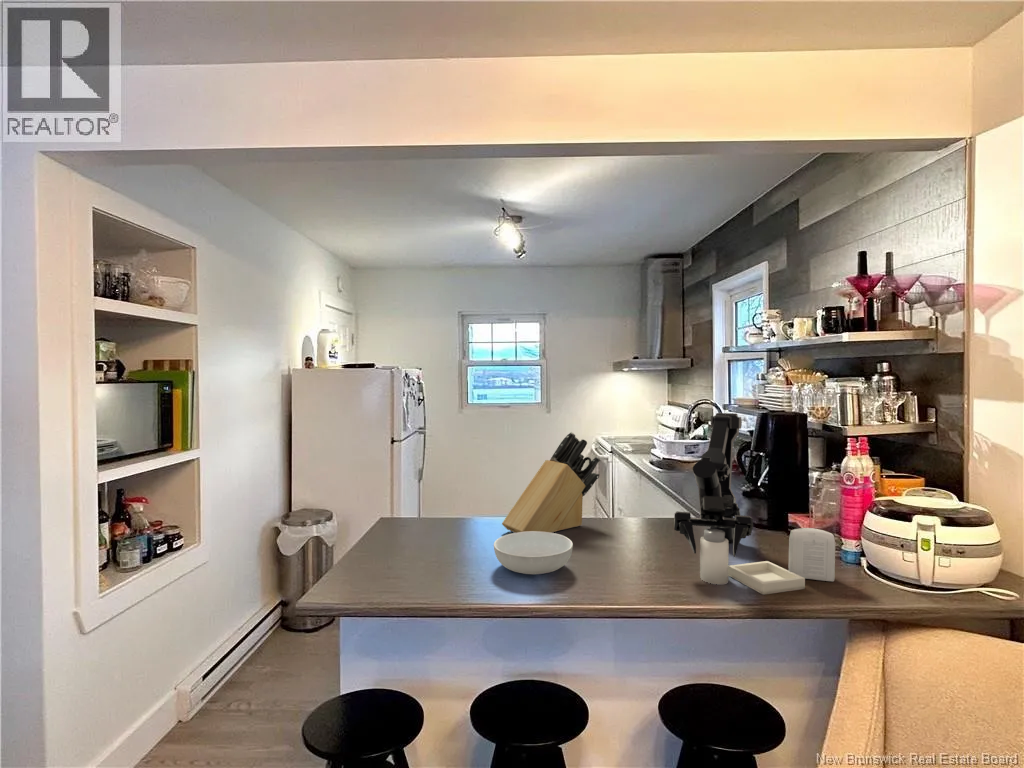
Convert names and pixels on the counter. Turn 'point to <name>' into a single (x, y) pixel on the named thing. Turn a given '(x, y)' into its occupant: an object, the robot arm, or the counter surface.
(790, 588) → the cream tray
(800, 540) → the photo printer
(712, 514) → the robot arm
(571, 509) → the knife block
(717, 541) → the white bottle
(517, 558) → the serving bowl
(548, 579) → the counter surface
